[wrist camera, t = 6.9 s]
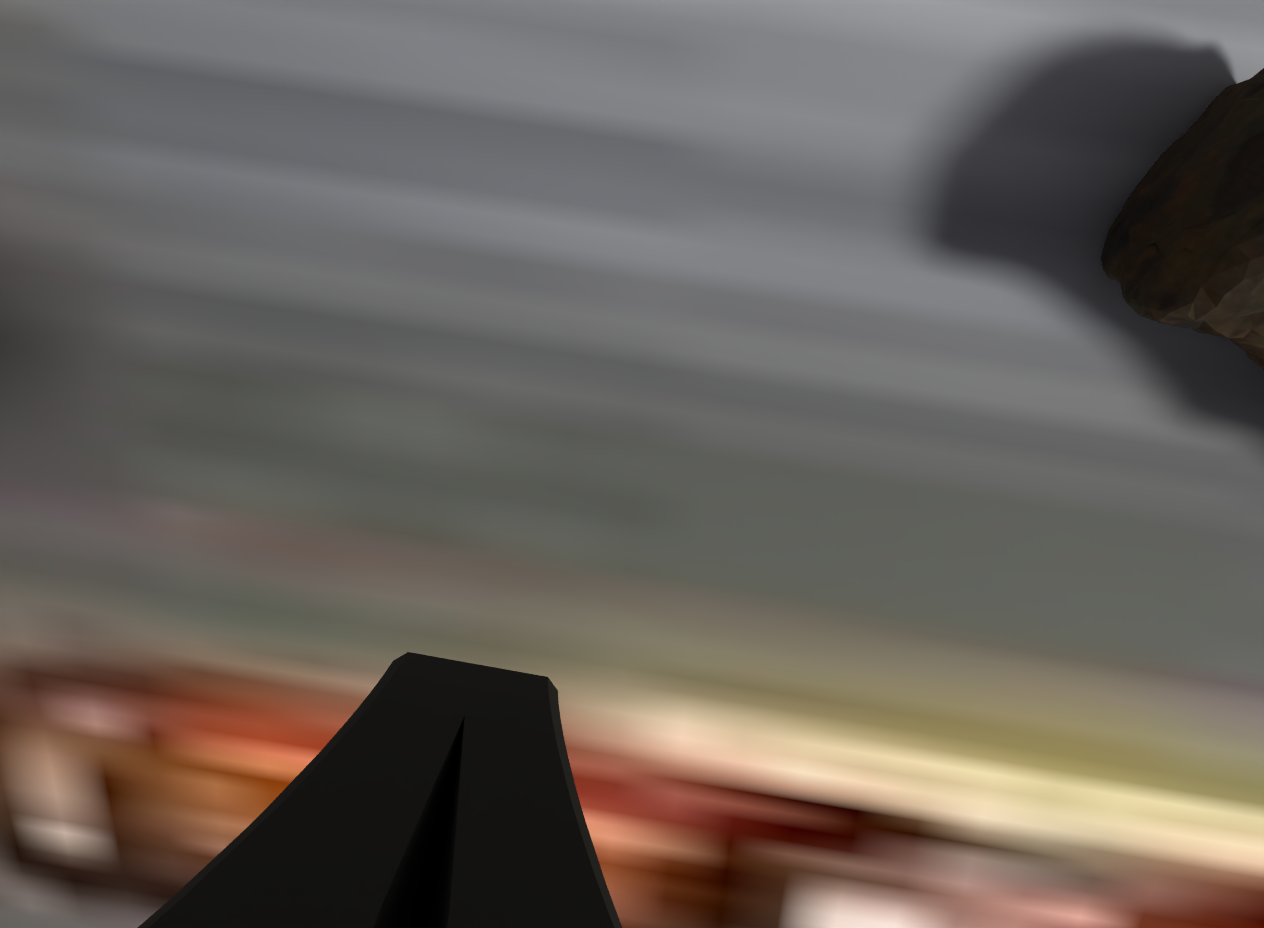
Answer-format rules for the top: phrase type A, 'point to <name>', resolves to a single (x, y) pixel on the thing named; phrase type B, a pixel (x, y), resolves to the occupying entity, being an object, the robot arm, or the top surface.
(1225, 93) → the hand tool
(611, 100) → the top surface
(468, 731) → the robot arm
